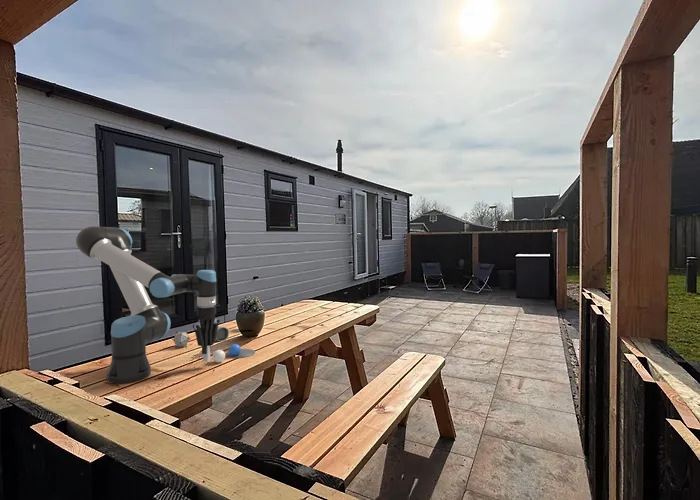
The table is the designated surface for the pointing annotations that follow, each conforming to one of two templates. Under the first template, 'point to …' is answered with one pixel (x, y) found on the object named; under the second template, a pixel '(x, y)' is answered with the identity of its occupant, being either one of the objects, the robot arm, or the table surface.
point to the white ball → (218, 356)
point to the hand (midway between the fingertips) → (206, 360)
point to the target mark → (241, 354)
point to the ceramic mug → (222, 334)
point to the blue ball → (234, 350)
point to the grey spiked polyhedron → (181, 339)
